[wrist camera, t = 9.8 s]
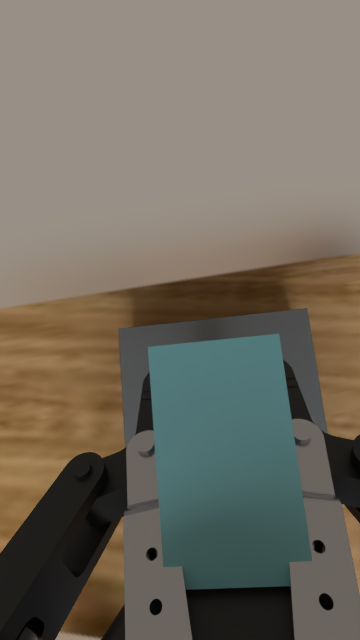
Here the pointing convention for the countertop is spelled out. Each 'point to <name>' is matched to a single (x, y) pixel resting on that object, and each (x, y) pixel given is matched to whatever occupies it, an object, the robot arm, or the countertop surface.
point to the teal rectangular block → (227, 463)
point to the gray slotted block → (284, 323)
